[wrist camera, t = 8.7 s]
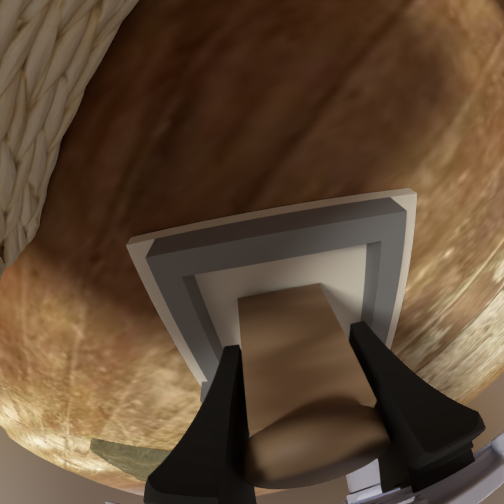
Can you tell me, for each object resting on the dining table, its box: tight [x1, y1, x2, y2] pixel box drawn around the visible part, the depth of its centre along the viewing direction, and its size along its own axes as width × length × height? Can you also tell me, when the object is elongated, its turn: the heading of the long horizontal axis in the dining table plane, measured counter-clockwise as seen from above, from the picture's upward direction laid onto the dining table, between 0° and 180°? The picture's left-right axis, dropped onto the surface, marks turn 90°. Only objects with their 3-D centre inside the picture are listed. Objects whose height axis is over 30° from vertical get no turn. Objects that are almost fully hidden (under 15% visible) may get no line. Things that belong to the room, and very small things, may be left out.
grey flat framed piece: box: [126, 188, 417, 438], centre depth 17 cm, size 14×22×2 cm, turn 10°
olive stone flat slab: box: [90, 438, 171, 481], centre depth 34 cm, size 19×20×4 cm
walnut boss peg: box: [237, 283, 391, 489], centre depth 10 cm, size 5×5×8 cm
